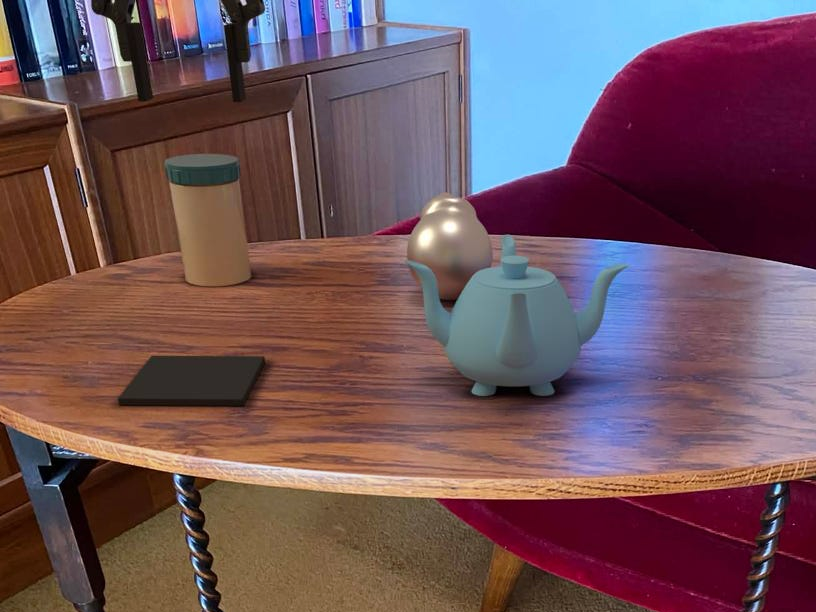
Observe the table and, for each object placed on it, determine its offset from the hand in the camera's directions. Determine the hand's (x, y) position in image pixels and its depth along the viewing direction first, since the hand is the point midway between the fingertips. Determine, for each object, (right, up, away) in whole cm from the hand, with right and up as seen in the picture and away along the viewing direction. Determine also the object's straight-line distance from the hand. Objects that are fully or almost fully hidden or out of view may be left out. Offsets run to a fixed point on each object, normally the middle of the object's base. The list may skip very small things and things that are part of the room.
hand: (192, 99), depth 97 cm
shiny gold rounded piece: (+26, -18, +5) cm, 32 cm away
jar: (0, -14, +10) cm, 17 cm away
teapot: (+32, -33, -15) cm, 48 cm away
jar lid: (0, -5, +3) cm, 6 cm away
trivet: (+5, -33, -16) cm, 37 cm away
